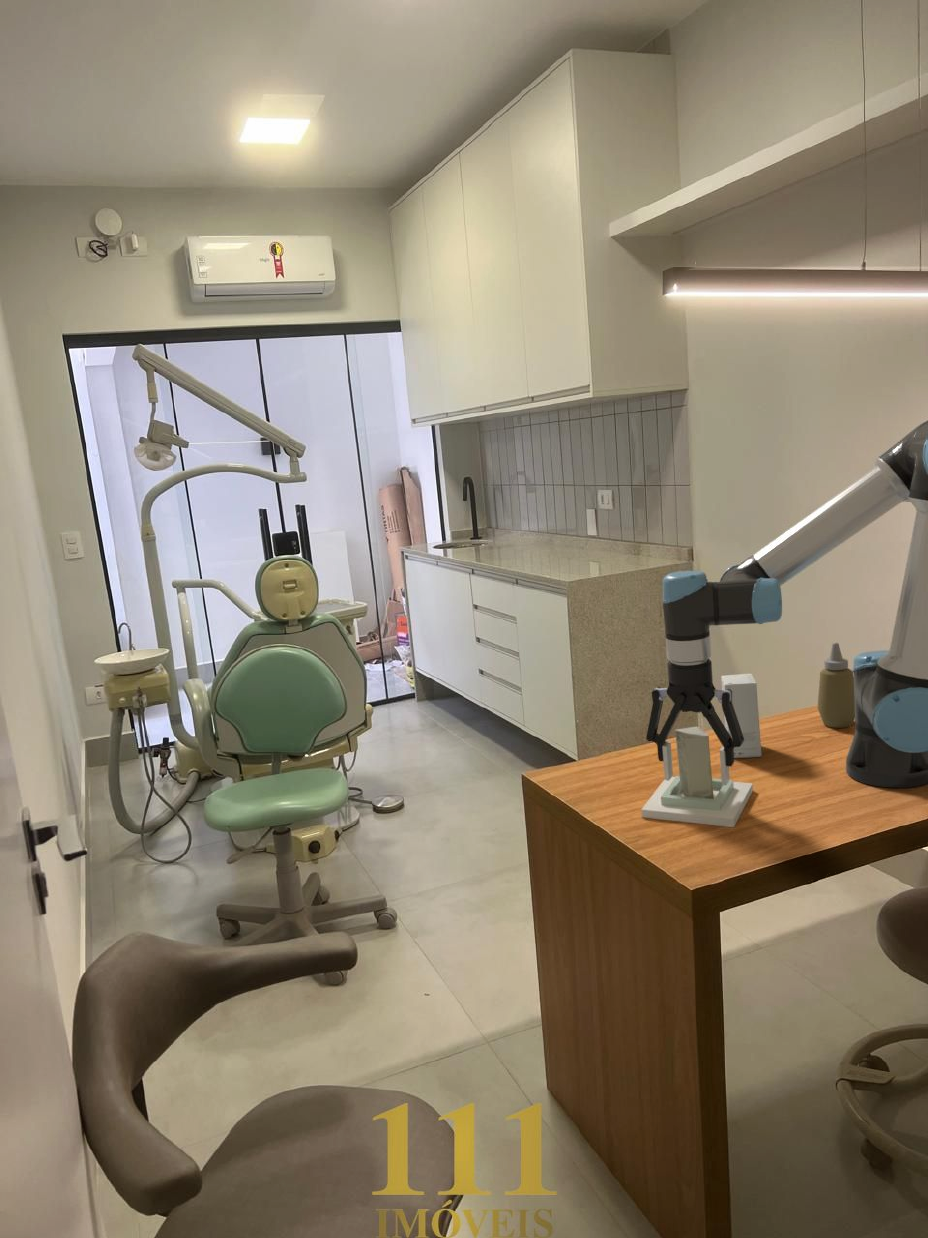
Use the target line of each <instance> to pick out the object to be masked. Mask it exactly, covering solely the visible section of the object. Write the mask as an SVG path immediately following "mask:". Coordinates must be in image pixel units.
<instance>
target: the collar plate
mask: <svg viewBox="0 0 928 1238" xmlns="http://www.w3.org/2000/svg"><path fill="white" fill-rule="evenodd" d="M712 783H713V795H714V799H707V798H696V797H686V796H684V795H683V794H682V792H681V787H680V777H679V775H676V776H672V777H671V779H670V780H669V781H667V780H665V778H664V780H662V782H661V783H660V785H659V786H658V787H657V788H656V790H655V791H654V793H653V794H652V795H651V796H650V798H649V799H648V800H647V801H646V803H644V806H642V808H641V818H644V819H653V820H662V821H663V820H664V821H670V822H672V821H673V822H681V823H688V824H689V823H691V824H697V825H698V824H699V825H708V826H716V827H717V826H718V827H725V828H726V827H728V828H735V825H736V824H737V822H738V821H739V818H740V816H742V815H741V814H743V811H744V809H745V807H746V805H747V803H748V801H749V800H750V798H751V796H752V794H753V791H754V783H751V782H743V781H742V782H739V781H734V780H733V779H730V780H729V782H728V783H727V785H726V786H725V785H722V780H721V778H715V777H712Z"/></svg>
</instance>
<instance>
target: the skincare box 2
mask: <svg viewBox="0 0 928 1238" xmlns="http://www.w3.org/2000/svg"><path fill="white" fill-rule="evenodd" d="M720 680H721V690H723V691H726V690H727V689H730V690H731V691H732V704H733V707H734V710H735V713H736V716H737V719H738V722H739V725H740V728H741V731H742V734H743V737H744V741H743V743H742V745H741V746H740V747H734V759H743V758H744V759H745V758H746V759H747V758H748V759H749V758H761V757H762V741H761V732H760V731H761V730H760V729H761V728H760V715H759V713H760V712H759V702H758V687H757V681H756V680H755V677H754V675H753V673H741V674H740V673H739V674H728V675H725V674H724V675H721V678H720ZM723 716H724V717H723V718H724V726H725V728H726V730H727V731H728V733H729V734H730V736H731V733H730V730H729V727H728V724H727V721H726V718H725V715H723ZM731 738H732V736H731Z"/></svg>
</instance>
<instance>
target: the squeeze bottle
mask: <svg viewBox="0 0 928 1238" xmlns="http://www.w3.org/2000/svg"><path fill="white" fill-rule="evenodd" d="M818 683H819V686H818V696H817V697H818V698H817V711H818V713H819V715H820V716H819V717H820V718H821V720H822V723H823V725H824V726H826V727H828V728H829V727H830V728H834V729H835V728H837V729H839V728H840V729H841V728H844V729H845V728H848V727H851V726H853V724H854V723H855V701H854V673H853V671H852V669H851V668H849V660H848V659H847V658H845V657H844V658H843V655H842V651H841V648H840V643H838V642H834V643H832V645H831V650H830V655H829V658H826V659H824V668H823V669H822V670H821V671H820V672H819V681H818Z"/></svg>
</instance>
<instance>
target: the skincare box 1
mask: <svg viewBox="0 0 928 1238" xmlns="http://www.w3.org/2000/svg"><path fill="white" fill-rule="evenodd" d="M674 730H675V731H674V732H675V733H674V734H675V743H676V751H677V752H676V754H677V764H678V774H679V775H678V776H679V777H680V787H681V792H682V794H683V795H684V796H686V797H696V798H707V799H714V795H713V783H712V778H713V775H712V762H711V751H710V737H709V736H710V735H709V734H707V733H706V732H705V731H704V730H703V729H702V728H700V727H699V726H698V725H697V726H696V725H695V726H690V727H683V728H676V729H674Z"/></svg>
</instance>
